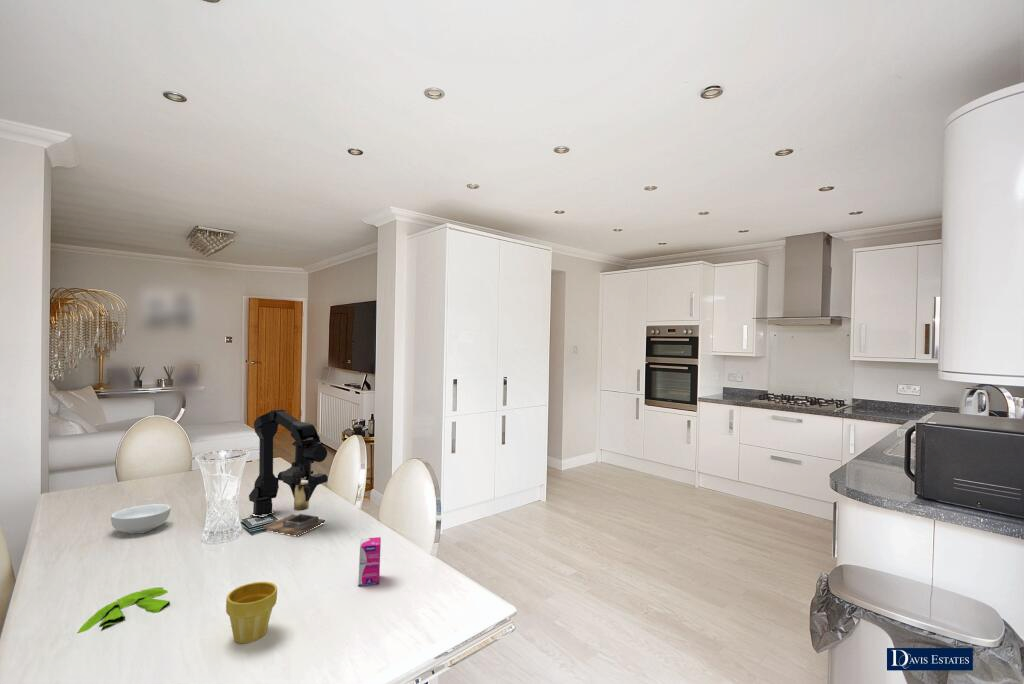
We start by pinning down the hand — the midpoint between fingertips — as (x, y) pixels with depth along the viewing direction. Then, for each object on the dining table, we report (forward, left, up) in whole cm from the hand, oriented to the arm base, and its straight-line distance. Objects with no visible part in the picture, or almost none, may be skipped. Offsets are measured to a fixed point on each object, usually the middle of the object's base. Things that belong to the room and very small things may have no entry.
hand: (301, 500), depth 172 cm
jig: (-3, 0, -10) cm, 11 cm away
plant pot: (+38, -56, -11) cm, 69 cm away
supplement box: (+48, -25, -11) cm, 55 cm away
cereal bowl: (-52, -22, -11) cm, 57 cm away
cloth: (+2, -59, -11) cm, 60 cm away
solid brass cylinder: (0, 0, -3) cm, 3 cm away
